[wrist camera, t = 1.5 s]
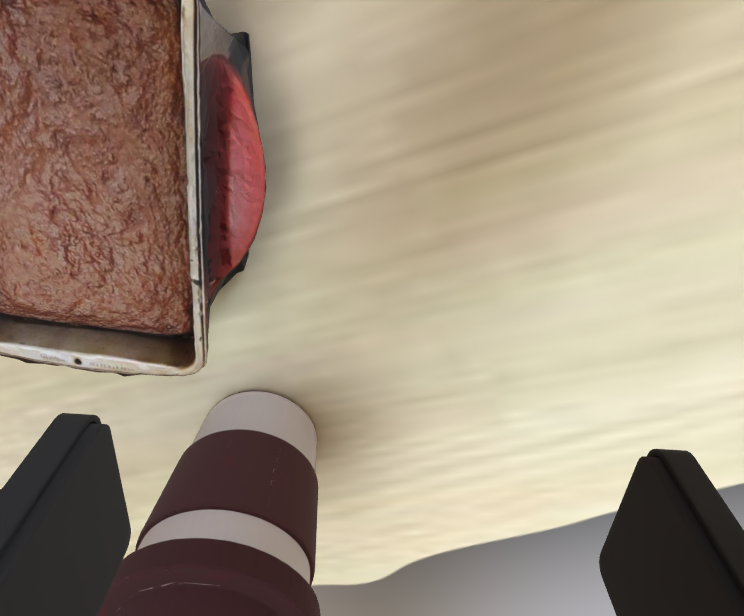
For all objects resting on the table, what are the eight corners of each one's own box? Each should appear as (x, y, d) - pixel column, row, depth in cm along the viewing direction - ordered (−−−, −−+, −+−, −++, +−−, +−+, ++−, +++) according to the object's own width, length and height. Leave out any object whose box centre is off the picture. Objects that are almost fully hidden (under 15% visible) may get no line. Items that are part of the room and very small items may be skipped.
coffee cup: (341, 486, 39) (320, 737, 26) (198, 486, 39) (108, 734, 26) (334, 369, 34) (304, 606, 21) (171, 370, 34) (42, 605, 21)
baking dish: (10, 241, 33) (-96, 365, 25) (-81, -152, 21) (-323, -147, 14) (263, 277, 35) (239, 402, 27) (299, -63, 24) (275, -15, 16)
